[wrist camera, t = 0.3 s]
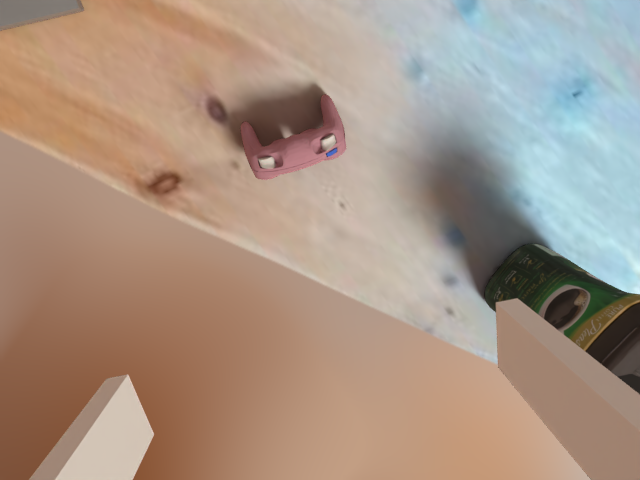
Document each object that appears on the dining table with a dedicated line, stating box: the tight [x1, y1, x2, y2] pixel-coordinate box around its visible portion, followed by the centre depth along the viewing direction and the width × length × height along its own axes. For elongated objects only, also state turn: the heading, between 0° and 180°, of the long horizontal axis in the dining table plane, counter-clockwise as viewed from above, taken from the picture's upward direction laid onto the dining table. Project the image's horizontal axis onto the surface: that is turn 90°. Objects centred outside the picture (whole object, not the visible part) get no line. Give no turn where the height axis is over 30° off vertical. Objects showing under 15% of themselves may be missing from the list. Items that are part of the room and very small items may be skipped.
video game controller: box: [241, 94, 346, 180], centre depth 34 cm, size 10×5×7 cm, turn 108°
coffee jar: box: [485, 244, 640, 377], centre depth 34 cm, size 10×8×19 cm
